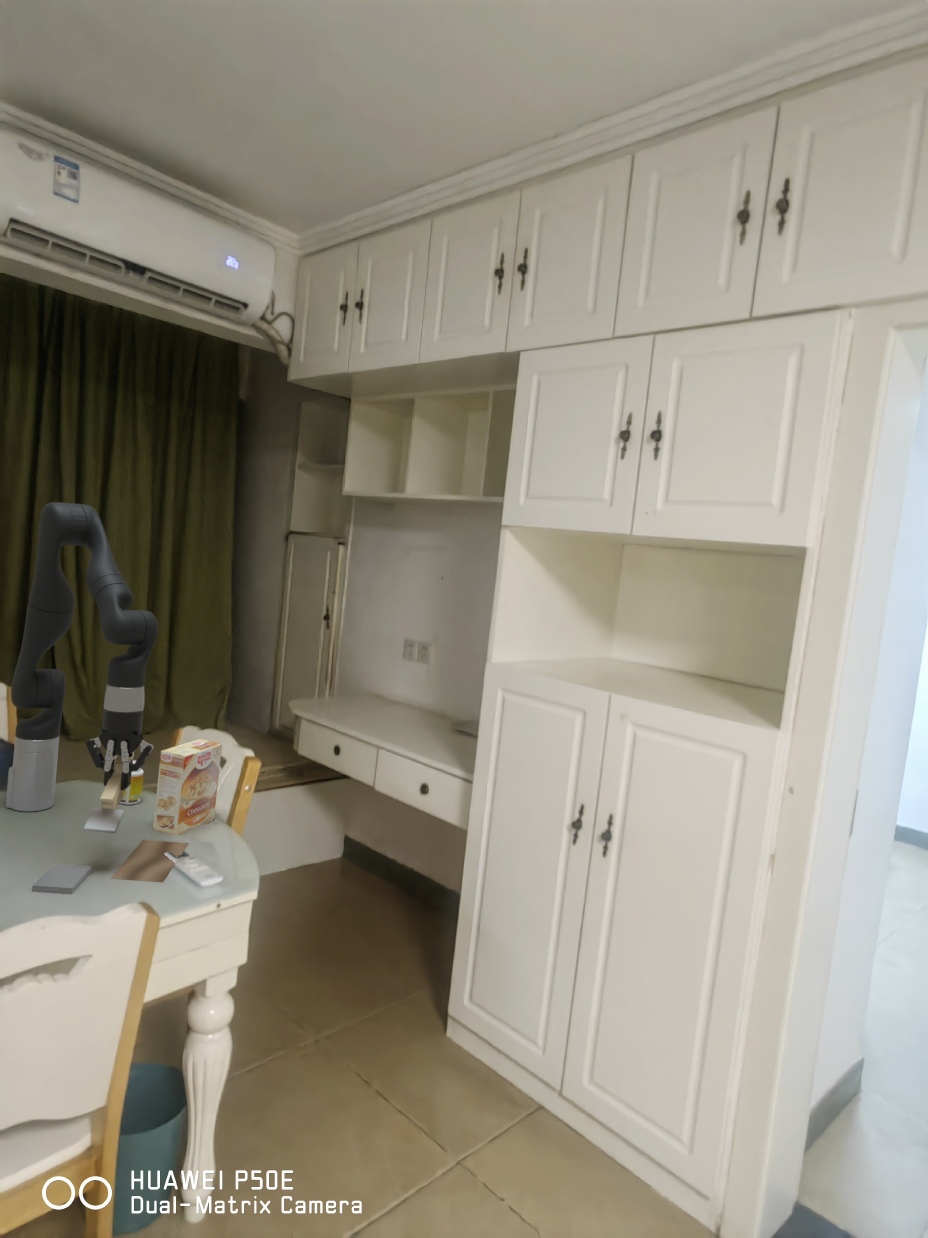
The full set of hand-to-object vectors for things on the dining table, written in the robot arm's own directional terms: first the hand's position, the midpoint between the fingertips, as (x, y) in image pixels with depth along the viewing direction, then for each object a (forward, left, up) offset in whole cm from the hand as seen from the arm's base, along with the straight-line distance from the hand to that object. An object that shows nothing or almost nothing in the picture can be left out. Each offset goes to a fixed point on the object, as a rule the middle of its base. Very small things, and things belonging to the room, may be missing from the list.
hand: (116, 788), depth 155 cm
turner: (0, -1, -3) cm, 3 cm away
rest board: (+8, 0, -16) cm, 18 cm away
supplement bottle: (-8, +35, -16) cm, 40 cm away
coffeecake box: (+9, +22, -16) cm, 29 cm away
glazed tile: (-5, -7, -15) cm, 17 cm away
